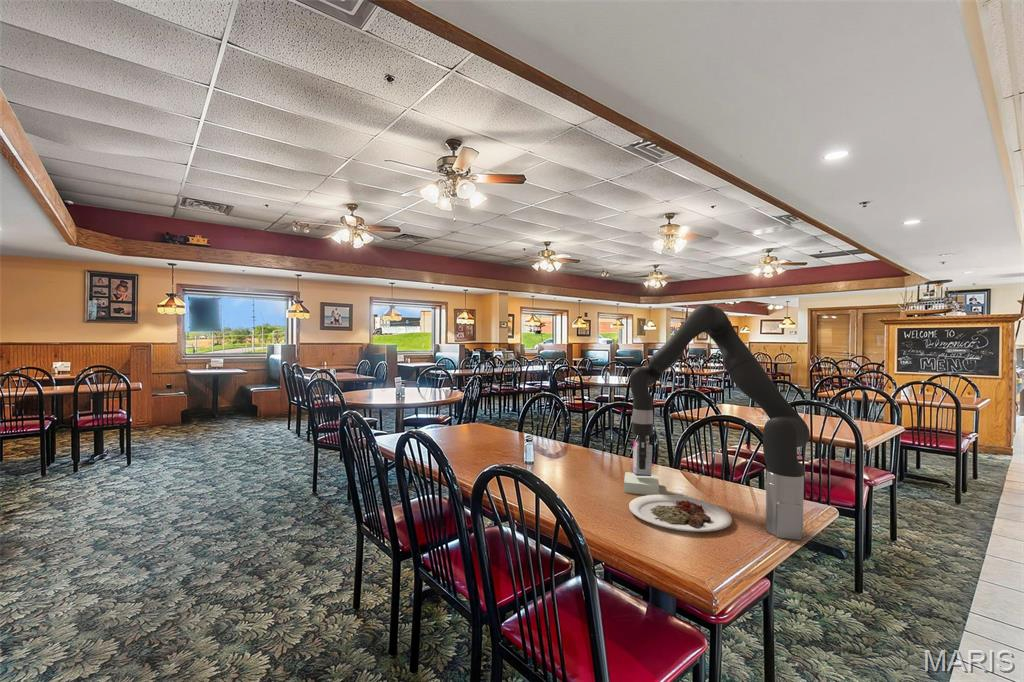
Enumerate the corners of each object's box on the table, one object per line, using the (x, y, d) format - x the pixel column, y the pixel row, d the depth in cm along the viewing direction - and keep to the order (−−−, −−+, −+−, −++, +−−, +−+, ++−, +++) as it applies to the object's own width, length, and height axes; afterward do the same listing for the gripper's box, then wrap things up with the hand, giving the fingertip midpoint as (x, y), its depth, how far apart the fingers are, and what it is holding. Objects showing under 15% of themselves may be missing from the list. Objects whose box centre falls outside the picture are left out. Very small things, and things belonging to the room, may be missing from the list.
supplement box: (652, 476, 166) (652, 444, 166) (635, 476, 166) (636, 444, 166) (647, 471, 172) (648, 441, 172) (631, 471, 172) (632, 441, 172)
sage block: (658, 497, 161) (659, 485, 161) (623, 493, 164) (624, 482, 164) (657, 485, 174) (657, 474, 174) (625, 482, 178) (625, 472, 178)
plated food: (622, 526, 134) (622, 514, 134) (634, 495, 162) (634, 485, 162) (736, 544, 123) (736, 532, 123) (728, 507, 151) (728, 497, 151)
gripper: (654, 425, 161) (653, 472, 161) (652, 419, 175) (651, 462, 175) (632, 424, 163) (631, 470, 163) (631, 417, 177) (631, 461, 177)
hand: (641, 466), depth 169 cm, fingers closed on supplement box, 6 cm apart
